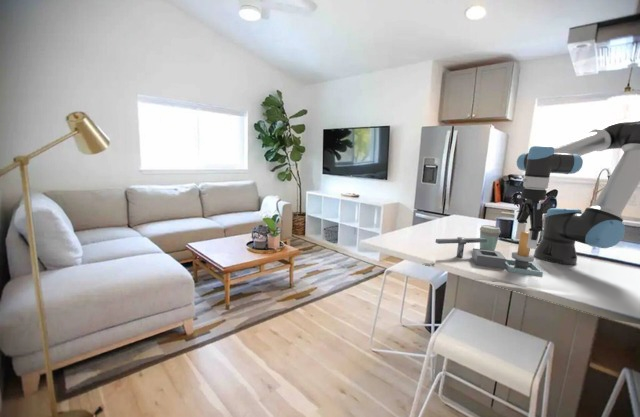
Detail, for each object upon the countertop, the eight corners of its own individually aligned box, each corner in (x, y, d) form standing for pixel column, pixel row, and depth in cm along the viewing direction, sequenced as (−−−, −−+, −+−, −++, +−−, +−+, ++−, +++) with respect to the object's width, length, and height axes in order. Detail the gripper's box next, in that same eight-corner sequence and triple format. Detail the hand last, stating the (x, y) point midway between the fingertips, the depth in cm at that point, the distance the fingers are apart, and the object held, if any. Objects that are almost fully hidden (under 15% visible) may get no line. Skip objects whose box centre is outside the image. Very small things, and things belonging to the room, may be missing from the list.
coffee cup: (500, 255, 136) (504, 230, 134) (479, 253, 137) (483, 228, 135) (493, 250, 144) (497, 225, 142) (474, 248, 146) (477, 224, 144)
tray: (531, 268, 121) (532, 262, 120) (541, 278, 111) (543, 272, 110) (500, 264, 124) (501, 258, 124) (508, 273, 114) (509, 267, 113)
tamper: (528, 268, 119) (534, 231, 117) (534, 274, 113) (541, 235, 110) (507, 265, 122) (513, 229, 119) (512, 271, 115) (518, 233, 113)
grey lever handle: (479, 255, 133) (482, 236, 131) (485, 258, 129) (488, 238, 128) (432, 258, 127) (434, 237, 125) (437, 260, 123) (440, 240, 122)
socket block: (497, 262, 126) (499, 251, 125) (504, 271, 116) (506, 259, 115) (452, 256, 131) (453, 245, 130) (455, 264, 121) (456, 252, 120)
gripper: (513, 185, 125) (505, 234, 128) (535, 190, 101) (524, 251, 105) (534, 186, 122) (525, 236, 126) (561, 192, 99) (549, 254, 103)
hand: (525, 243), depth 115 cm, fingers open, 13 cm apart
